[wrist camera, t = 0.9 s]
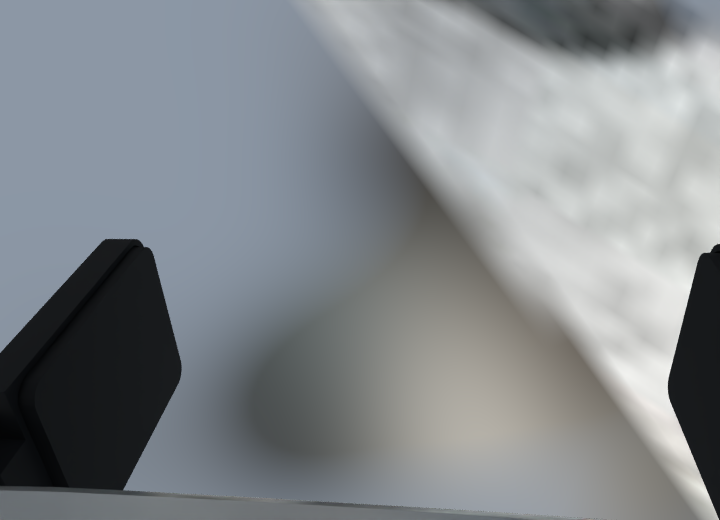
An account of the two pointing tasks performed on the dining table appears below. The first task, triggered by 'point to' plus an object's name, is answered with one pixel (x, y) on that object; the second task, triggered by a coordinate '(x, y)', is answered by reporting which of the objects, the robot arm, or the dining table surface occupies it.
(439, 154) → the dining table surface
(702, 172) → the dining table surface
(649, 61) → the dining table surface
